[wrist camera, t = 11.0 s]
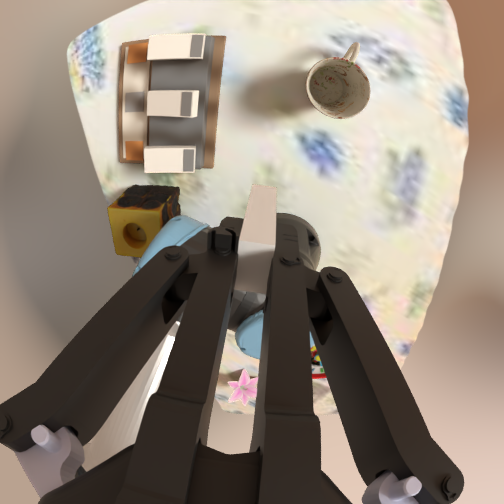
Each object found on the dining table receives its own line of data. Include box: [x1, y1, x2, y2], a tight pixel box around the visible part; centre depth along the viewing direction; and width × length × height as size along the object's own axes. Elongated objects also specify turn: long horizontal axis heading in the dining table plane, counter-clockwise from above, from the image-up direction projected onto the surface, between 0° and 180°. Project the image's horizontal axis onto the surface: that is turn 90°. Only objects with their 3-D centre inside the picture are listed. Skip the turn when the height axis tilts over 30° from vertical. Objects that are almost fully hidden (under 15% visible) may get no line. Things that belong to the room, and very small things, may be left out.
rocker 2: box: [144, 146, 196, 173], centre depth 40 cm, size 4×8×2 cm, turn 84°
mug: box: [306, 42, 370, 119], centre depth 31 cm, size 8×13×10 cm, turn 159°
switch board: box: [119, 36, 226, 169], centre depth 38 cm, size 23×18×4 cm
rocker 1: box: [147, 34, 206, 61], centre depth 30 cm, size 4×8×2 cm, turn 84°
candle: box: [107, 185, 181, 258], centre depth 47 cm, size 10×10×10 cm
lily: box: [228, 369, 258, 406], centre depth 80 cm, size 12×12×10 cm
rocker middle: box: [147, 90, 199, 118], centre depth 35 cm, size 4×8×2 cm, turn 84°
